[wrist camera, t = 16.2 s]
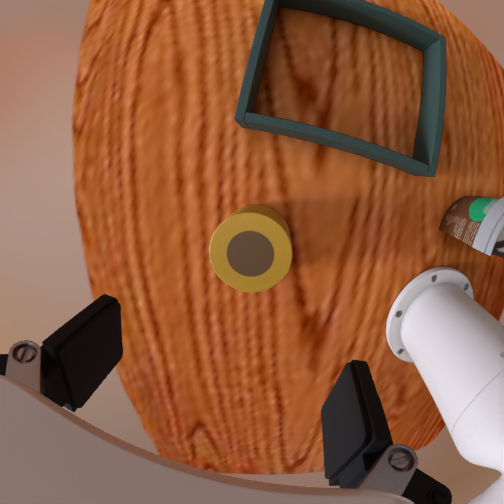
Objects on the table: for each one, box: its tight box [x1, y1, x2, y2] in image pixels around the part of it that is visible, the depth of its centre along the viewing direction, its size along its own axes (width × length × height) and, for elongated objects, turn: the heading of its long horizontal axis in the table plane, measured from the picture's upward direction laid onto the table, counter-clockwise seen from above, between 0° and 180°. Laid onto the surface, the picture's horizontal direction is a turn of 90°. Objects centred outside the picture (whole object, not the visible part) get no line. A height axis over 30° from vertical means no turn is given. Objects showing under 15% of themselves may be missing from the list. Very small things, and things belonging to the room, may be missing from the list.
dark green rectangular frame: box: [234, 0, 446, 177], centre depth 19 cm, size 18×16×4 cm
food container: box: [439, 196, 504, 258], centre depth 18 cm, size 12×6×10 cm, turn 80°
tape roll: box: [209, 205, 292, 292], centre depth 24 cm, size 7×7×5 cm
